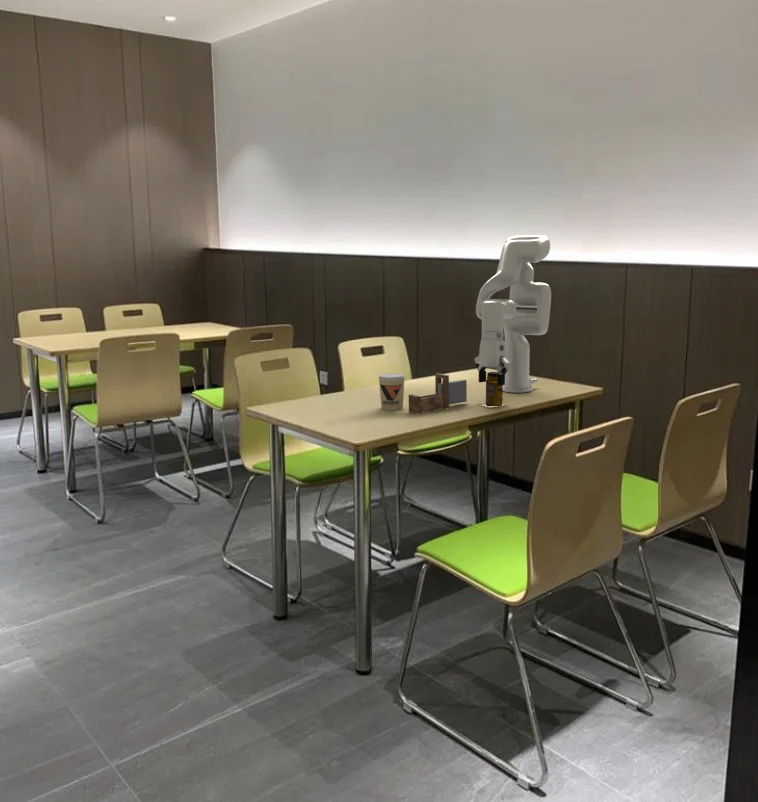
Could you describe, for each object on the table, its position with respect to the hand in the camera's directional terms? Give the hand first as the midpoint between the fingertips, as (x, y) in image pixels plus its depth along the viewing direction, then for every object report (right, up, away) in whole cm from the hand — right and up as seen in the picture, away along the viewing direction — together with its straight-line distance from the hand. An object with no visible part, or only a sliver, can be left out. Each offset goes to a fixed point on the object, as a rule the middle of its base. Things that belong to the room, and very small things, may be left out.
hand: (491, 383), depth 282 cm
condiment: (0, -8, +2) cm, 8 cm away
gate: (-14, -8, +4) cm, 16 cm away
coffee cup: (-36, -9, +2) cm, 37 cm away
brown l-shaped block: (-22, -9, -2) cm, 24 cm away
